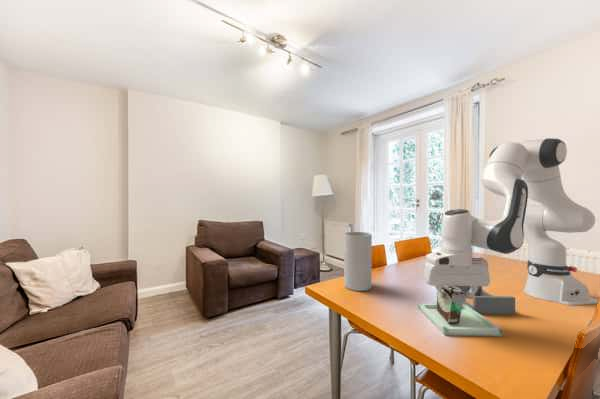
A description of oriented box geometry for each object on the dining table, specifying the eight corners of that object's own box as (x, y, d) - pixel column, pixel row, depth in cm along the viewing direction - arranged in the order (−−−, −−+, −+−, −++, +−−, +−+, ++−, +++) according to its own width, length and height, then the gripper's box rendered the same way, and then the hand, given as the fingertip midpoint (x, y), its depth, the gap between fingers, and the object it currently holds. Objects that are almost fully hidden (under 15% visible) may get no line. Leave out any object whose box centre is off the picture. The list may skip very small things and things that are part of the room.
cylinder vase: (357, 280, 120) (357, 231, 119) (377, 288, 109) (377, 234, 109) (338, 285, 113) (338, 233, 113) (358, 294, 102) (358, 236, 102)
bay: (479, 294, 102) (480, 280, 102) (515, 314, 84) (515, 297, 84) (446, 294, 102) (446, 280, 102) (475, 313, 85) (475, 297, 85)
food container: (471, 329, 73) (474, 298, 73) (450, 326, 74) (453, 295, 74) (452, 311, 86) (455, 283, 85) (434, 308, 87) (437, 281, 86)
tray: (465, 309, 88) (465, 304, 88) (502, 336, 71) (502, 329, 71) (418, 308, 89) (418, 303, 89) (444, 335, 72) (444, 328, 72)
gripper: (480, 255, 83) (480, 294, 83) (421, 254, 83) (421, 293, 84) (495, 260, 76) (494, 302, 76) (430, 259, 77) (430, 301, 77)
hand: (456, 298), depth 80 cm, fingers open, 8 cm apart
